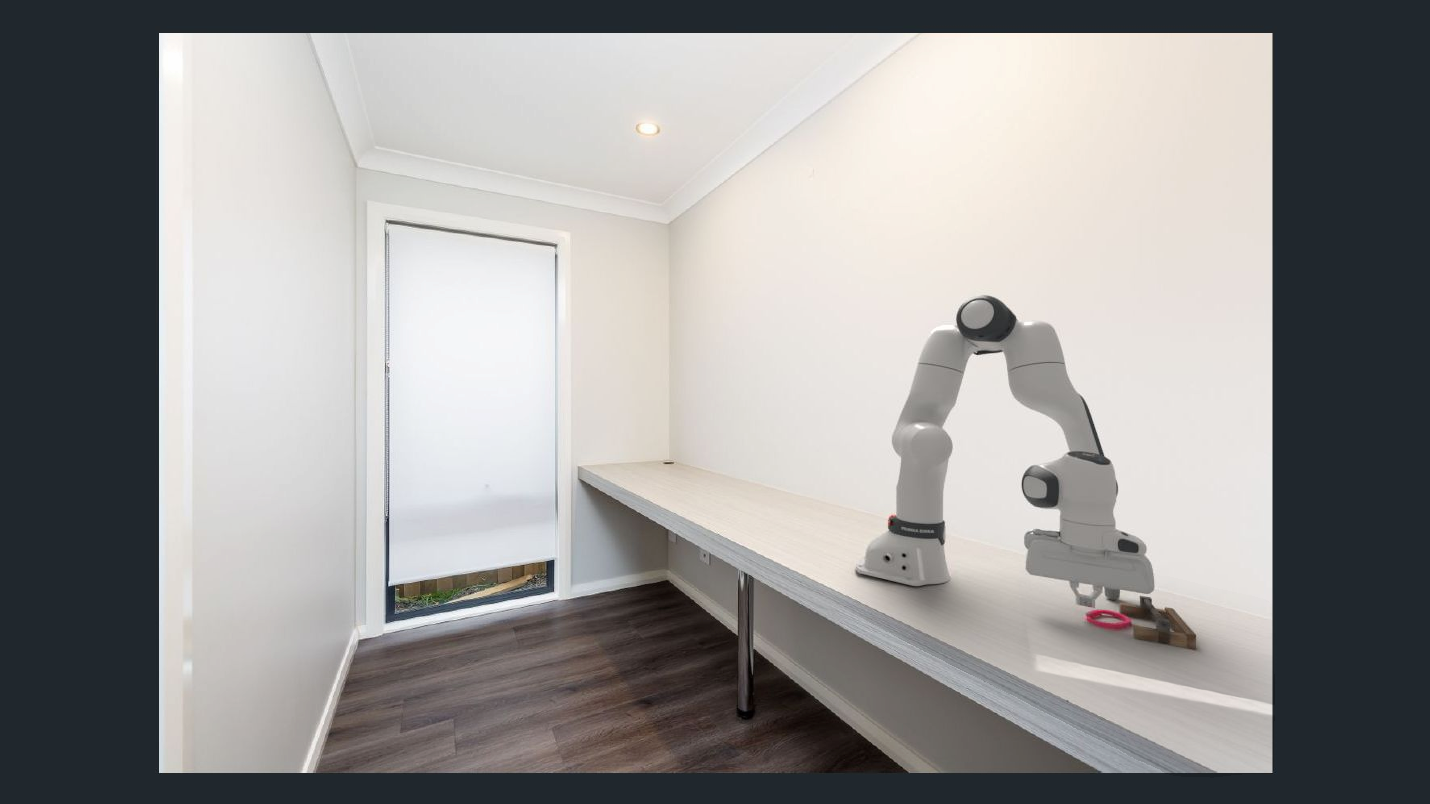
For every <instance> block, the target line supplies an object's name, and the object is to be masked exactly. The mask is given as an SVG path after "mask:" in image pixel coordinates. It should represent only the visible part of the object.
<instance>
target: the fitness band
mask: <svg viewBox="0 0 1430 804" xmlns="http://www.w3.org/2000/svg"><path fill="white" fill-rule="evenodd" d="M1103 615H1108V616H1112V617H1114V618H1117V619H1119V620H1120V621H1119V622H1115V623H1113V622H1106V621H1099V620H1096V618H1099V617H1102V616H1103ZM1085 616H1086V617H1085V620H1086V621H1087V622H1088V623H1089V624H1091V625H1093V626H1096V627H1100V628H1103V629H1108V630H1117V631H1118V630H1123V629H1127V628H1129V627H1131V625H1132V620H1131V618H1130V617H1129V616H1126V615H1123V614H1120V613H1119V612H1116V611H1114V610H1108V609H1093V610H1090V611H1086V612H1085Z"/></svg>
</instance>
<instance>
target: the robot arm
mask: <svg viewBox="0 0 1430 804" xmlns="http://www.w3.org/2000/svg"><path fill="white" fill-rule="evenodd" d="M955 323H956V325H942V326H938V327H936V328H934V329H933V330H931V332H930V333H929V335H928V337H927V339H926V341H925V343H924V346H923V348H922V350H921V353H920V356H919V358H918V362H917V366H916V369H915V372H914V376H913V380H912V383H911V387H910V389H909V390H910V391H909V394H908V396H907V399H906V401H905V403H904V406H903V408H902V410H901V413H900V415H899V417H898V420H897V423H896V426H895V428H894V430H893V433H892V436H891V444H892V448H893V450H894V452H895V453H896V455H898V456H899V457H900V461H901V462H900V468H899V475H898V480H897V484H896V488H895V489H896V490H895V491H896V494H895V495H896V496H895V497H896V502H895V503H896V504H895V505H896V508H895V509H896V510H895V513H896V514H890V515H889V517H888V520H887V529H888V530H887V531H885V532H884V533H882V534H880V535H879V536H877V537H875V538H874V539H873V540H871V541H870V543H868V545H867V547H866V551H865V556H864V557H862V558H860V559H859V560H857V562H856V565H855V570H856V572H857V573H859V574H862V575H866V576H870V577H874V578H879V579H884V580H886V581H887V580H888V581H892V582H896V583H900V584H904V585H909V586H912V587H920V586H925V585H937V584H938V585H939V584H944V583H947V582H949V581H950V580H951V576H950V572H949V569H948V564H947V559H946V558H947V557H946V551H945V543H946V538H947V537H946V521H945V520H944V488H945V483H946V477H947V471H948V466H949V460H950V457H951V455H952V454H953V441H952V438H951V436H950V435H949V433H947V431H946V430H945V429H944V428H943V427H944V425H945V423H946V420H947V419H948V417H949V415H950V413H951V411H952V410H953V408H954V407H955V405H956V403H957V399H958V396H959V392H960V389H961V387H962V386H961V385H962V383H963V379H964V375H965V371H966V368H967V364H968V362H969V359H970V357H971V356H972V355H973V354H974V355H975V356H981V355H989V354H999V353H1003V355H1004V359H1005V362H1006V368H1007V369H1006V370H1007V379H1008V385H1009V388H1010V389H1009V390H1010V392H1011V394H1012V396H1013V398H1014V400H1016V401H1017V402H1019V404H1021V405H1023V406H1024V407H1026V408H1028V409H1030V410H1032V411H1035V412H1037V413H1040V414H1041V415H1045V416H1046V417H1048V418H1050V419H1052V420H1053V421H1054V422H1056V423H1057V424H1058V426H1059V427H1060V428H1061V430H1062V431H1063V435H1064V438H1065V441H1066V444H1067V448H1068V450H1069V451H1068V452H1066V453H1064V454H1063V455H1062V457H1060V458H1058V459H1056V460H1052V461H1050V462H1045V463H1039V464H1033V465H1031V466H1029V467H1028V468H1027V469H1026V470H1025V472H1024V473H1023V474H1022V478H1021V491H1022V494H1023V496H1024V498H1025V499H1026V501H1027V502H1028V503H1029V504H1030V505H1031V506H1033V507H1035V508H1040V509H1044V510H1059V512H1060V513H1059V514H1060V515H1059V531H1057V530H1055V531H1054V530H1045V529H1039V528H1032V530H1028V531H1027V532H1025V534H1024V537H1023V539H1024V541H1023V544H1024V547H1025V549H1027V551H1026V557H1025V571H1026V572H1027V573H1028V574H1029V575H1031V576H1035V577H1043V578H1048V579H1054V580H1058V581H1067V582H1069V583H1068V584H1069V587H1070V589H1071V591H1072V592H1073V594H1074V596H1075V605H1076V606H1082V607H1086V608H1091V609H1095V608H1096V600H1097V599H1098V598H1099V597H1100V596H1101V595H1102V594H1103V589H1104V587H1107V588H1113V589H1119V590H1120V591H1126V592H1132V593H1137V594H1144V595H1149V594H1152V592H1154V590H1155V578H1154V577H1155V576H1154V575H1155V574H1154V568H1153V565H1152V563H1151V561H1150V559H1149V558H1148V557H1147V554H1146V553H1147V551H1148V550H1147V545H1146V543H1145V541H1143V540H1142V539H1141V538H1139V537H1138V536H1136V535H1133V534H1130V533H1128V532H1124V531H1121V530H1119V529H1116V523H1117V522H1116V518H1115V516H1114V509H1115V505H1116V503H1117V496H1118V495H1119V485H1118V480H1117V478H1116V471H1115V468H1114V465H1113V463H1112V461H1111V460H1110V459H1109V458H1108V457H1106V456H1105V453H1104V450H1103V447H1102V445H1101V441H1100V438H1099V435H1098V432H1097V429H1096V428H1097V427H1096V426H1095V423H1094V420H1093V417H1092V414H1091V411H1090V408H1089V406H1088V404H1087V402H1086V400H1085V399H1084V397H1083V396H1082V395H1081V394H1080V393H1079V392H1078V391H1077V390H1076V389H1075V387H1074V385H1073V383H1072V382H1071V379H1070V377H1069V374H1068V372H1067V368H1066V367H1067V366H1066V361H1065V355H1064V353H1063V349H1062V346H1061V341H1060V340H1059V339H1060V338H1059V337H1058V334H1057V331H1056V329H1055V328H1054V326H1053V325H1052V324H1050V323H1049V322H1045V321H1041V320H1029V321H1023V322H1022V321H1019V319H1018V318H1017V316H1016V315H1015V313H1014V312H1013V311H1012V310H1011V309H1010V308H1009V307H1008V306H1007V305H1006V304H1005V303H1004V302H1003V301H1002V300H1000V299H999V298H997V297H994V296H992V295H987V294H986V295H985V294H980V295H975V296H971V297H970V298H968V299H966V300H965V301H964V302H963V303H962V304H961V305H960V306H959V308H958V311H957V313H956V317H955ZM1080 584H1084V585H1085V584H1086V585H1090V586H1091V587H1092V590H1093V591H1092V592H1091V593H1090V595H1087V594H1081V593H1080V592H1079V590H1078V589H1080V588H1079V587H1080Z"/></svg>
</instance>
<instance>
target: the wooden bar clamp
mask: <svg viewBox="0 0 1430 804" xmlns="http://www.w3.org/2000/svg"><path fill="white" fill-rule="evenodd" d="M1152 602H1153V601H1152V598H1151V597H1149V596H1144V595H1139V605H1137V604H1131V603H1124V602H1119V604H1118V605H1119V611H1118V613H1120V614H1123V615H1125V616H1127V617H1132V618H1139V619H1144V620H1152V621H1155V623H1156V624H1155V627H1154V628H1153V627H1149V626H1143V625H1138V624H1137V625H1136V624H1132V625H1133V626H1132V627H1133V629H1132V630H1133V631H1132V632H1133V633H1132V635H1133V638H1134V639H1135V640H1142V641H1147V642H1152V643H1158V644H1164V645H1168V646H1175V647H1179V648H1185V649H1189V650H1194V651H1195V650H1197V635H1196V633H1195V632H1194V631H1193V629H1191V628H1190V626H1189V625H1188V624H1187V622H1186V621H1185V620H1184V619H1183V618H1182V617H1181V616H1180V615H1179V614H1178V613H1177V612H1176V610H1175V609H1174V608H1172V607H1167V606H1164V609H1163V608H1158V607H1155V606H1154V604H1153V603H1152ZM1171 630H1172V631H1171Z"/></svg>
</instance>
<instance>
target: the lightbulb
mask: <svg viewBox="0 0 1430 804" xmlns="http://www.w3.org/2000/svg"><path fill="white" fill-rule="evenodd" d="M1103 589H1104V596H1105V597H1107V598H1108V599H1109V600H1110V601H1116V600H1118V599H1120V597H1121V590H1119V589H1113V588H1107V587H1103Z"/></svg>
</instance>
